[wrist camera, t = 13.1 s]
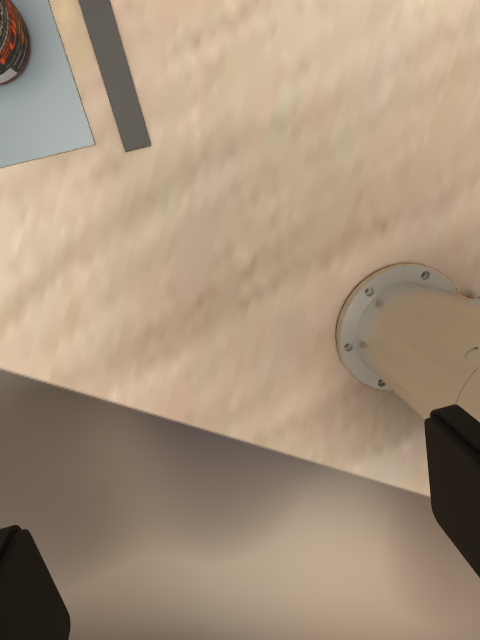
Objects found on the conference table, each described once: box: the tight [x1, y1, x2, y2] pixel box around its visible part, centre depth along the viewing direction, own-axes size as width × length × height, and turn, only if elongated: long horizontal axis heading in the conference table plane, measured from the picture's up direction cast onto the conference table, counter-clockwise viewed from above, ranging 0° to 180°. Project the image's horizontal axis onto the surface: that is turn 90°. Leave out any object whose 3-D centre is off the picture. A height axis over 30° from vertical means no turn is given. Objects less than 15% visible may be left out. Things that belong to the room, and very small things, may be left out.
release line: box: [79, 0, 151, 152], centre depth 31 cm, size 2×18×1 cm, turn 13°
